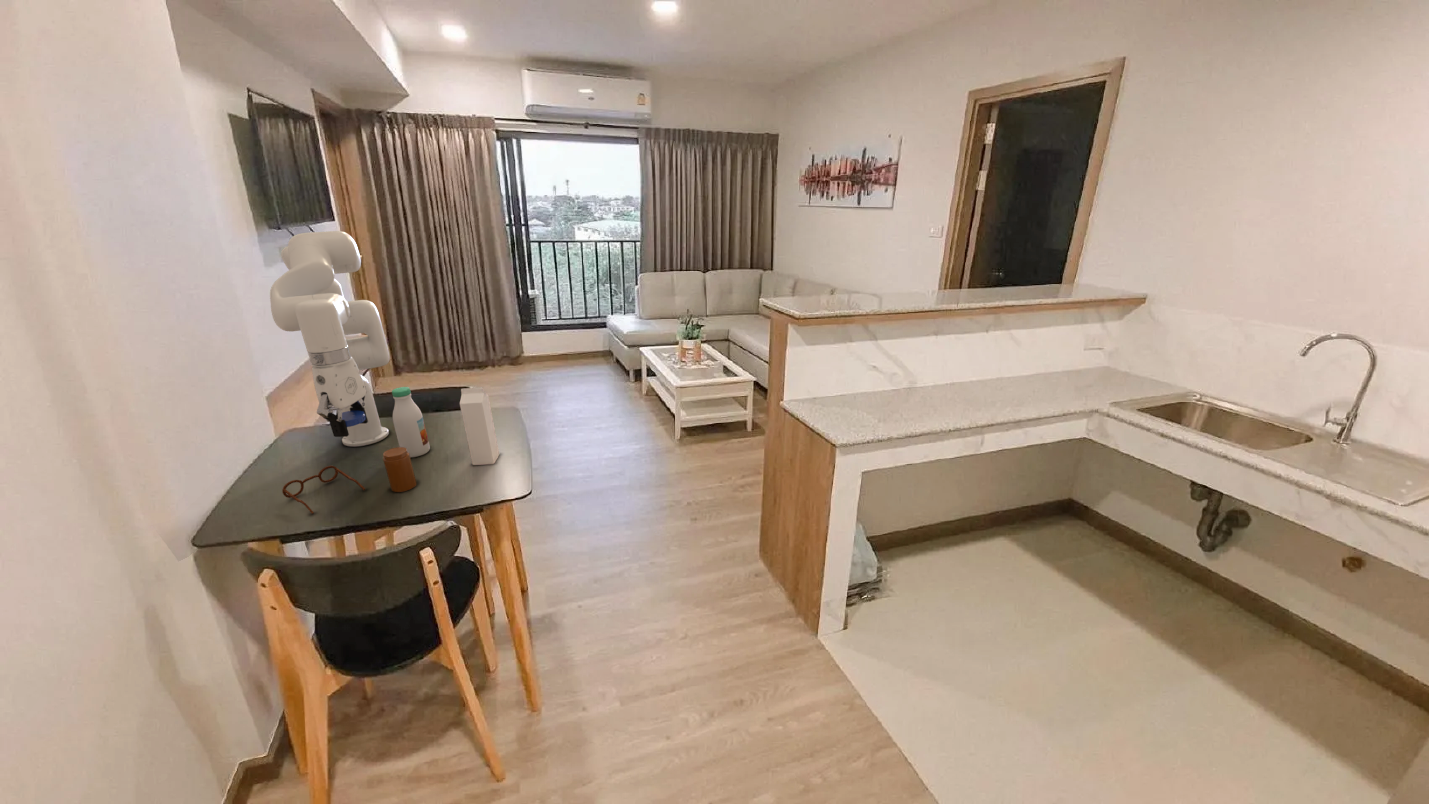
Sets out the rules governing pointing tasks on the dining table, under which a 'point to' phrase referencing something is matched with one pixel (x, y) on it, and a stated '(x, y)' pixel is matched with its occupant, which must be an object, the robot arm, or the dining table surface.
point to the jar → (399, 469)
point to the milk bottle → (409, 423)
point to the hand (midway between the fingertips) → (351, 428)
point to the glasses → (312, 478)
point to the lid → (353, 417)
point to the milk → (479, 426)
